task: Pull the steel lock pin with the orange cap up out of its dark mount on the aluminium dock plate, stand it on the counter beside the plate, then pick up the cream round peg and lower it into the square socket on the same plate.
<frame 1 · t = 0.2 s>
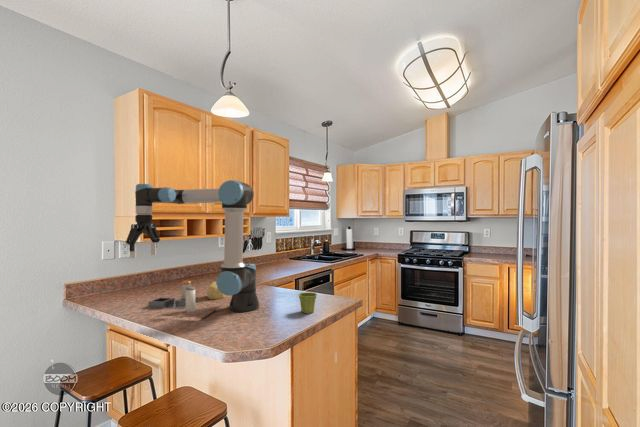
hand: (143, 256, 161), 27 cm above the countertop, fingers open, 13 cm apart
plant pot: (307, 312, 159), on the countertop
pin: (186, 303, 169), point 1 cm above the countertop, touching dock
dock: (173, 307, 167), on the countertop
sculpture: (217, 300, 183), on the countertop
cream round peg: (190, 314, 156), on the countertop
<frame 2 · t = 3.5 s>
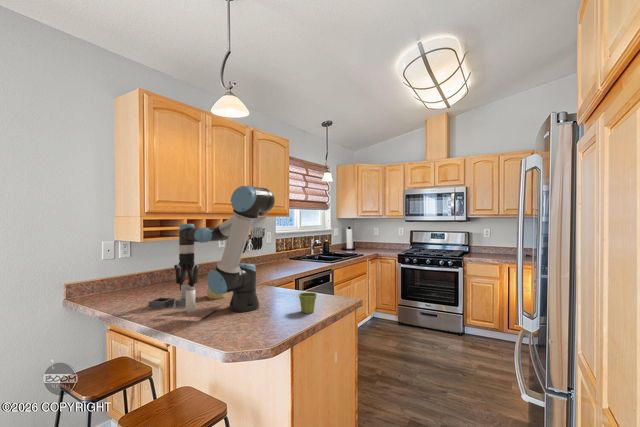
hand: (186, 296, 169), 5 cm above the countertop, fingers closed on pin, 3 cm apart
pin: (186, 303, 169), point 1 cm above the countertop, touching dock, gripper
everything else where it was.
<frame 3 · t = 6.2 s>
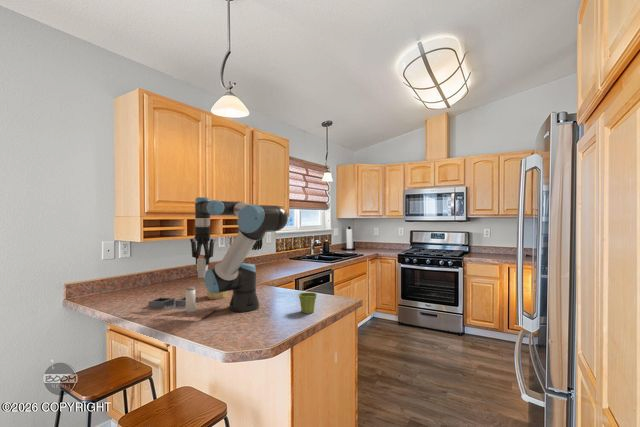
hand: (202, 270, 169), 19 cm above the countertop, fingers closed on pin, 3 cm apart
pin: (202, 277, 169), point 15 cm above the countertop, touching gripper
everything else where it was.
when the fingers open (5 cm above the countertop, at t = 8.8 s): pin drops 1 cm, on the countertop.
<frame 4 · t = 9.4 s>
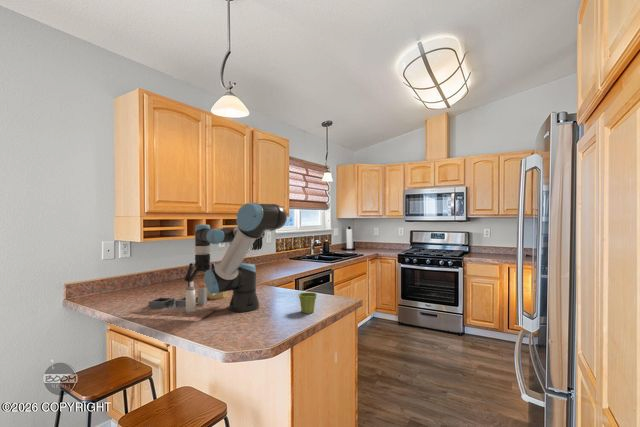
hand: (202, 294, 169), 6 cm above the countertop, fingers open, 12 cm apart
pin: (202, 306, 169), on the countertop
everything else where it was.
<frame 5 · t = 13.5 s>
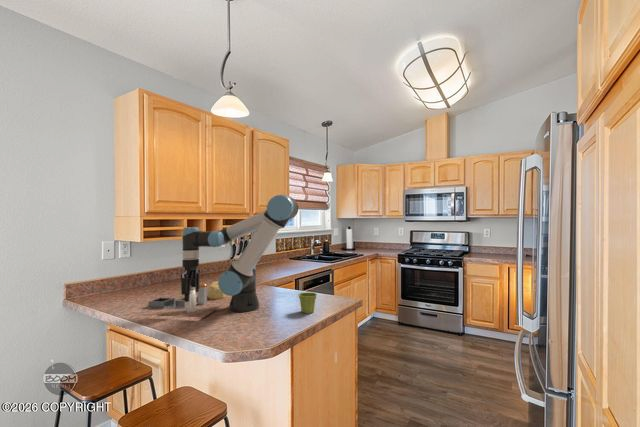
hand: (190, 306, 156), 4 cm above the countertop, fingers closed on cream round peg, 4 cm apart
cream round peg: (190, 313, 156), on the countertop, touching gripper
everything else where it was.
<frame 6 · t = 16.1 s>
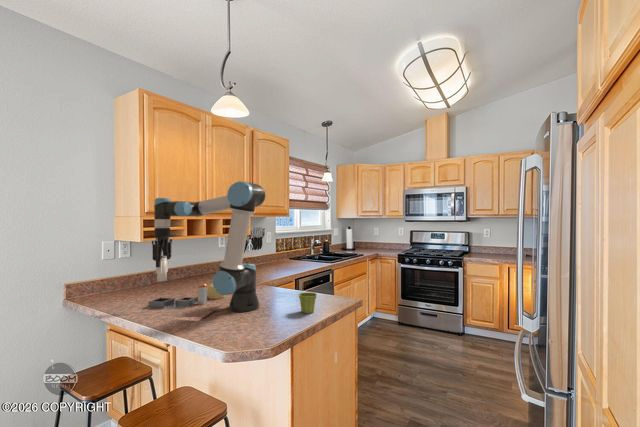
hand: (162, 272, 165), 19 cm above the countertop, fingers closed on cream round peg, 4 cm apart
cream round peg: (161, 280, 165), point 14 cm above the countertop, touching gripper
everything else where it was.
when the fingers open (6 cm above the countertop, at t = 19.2 s): cream round peg stays where it is, resting on dock.
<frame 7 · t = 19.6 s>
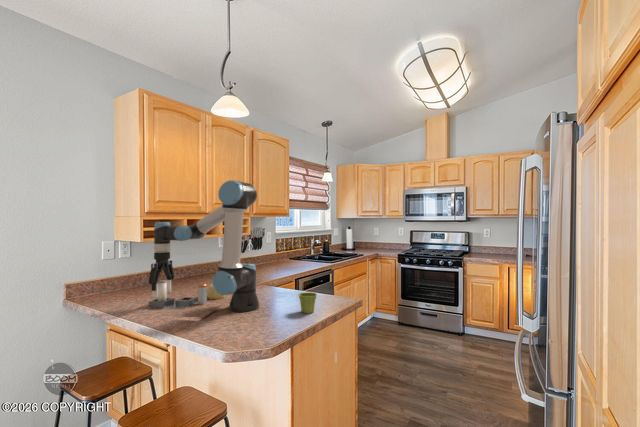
hand: (161, 294, 165), 7 cm above the countertop, fingers open, 10 cm apart
cream round peg: (161, 305, 165), point 2 cm above the countertop, touching dock
everything else where it was.
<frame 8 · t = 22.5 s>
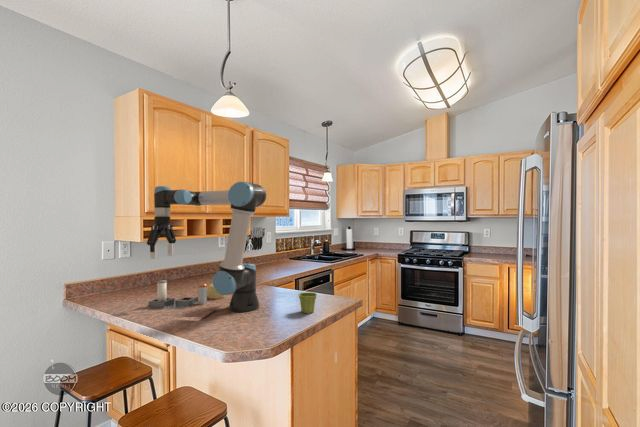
hand: (162, 257, 166), 27 cm above the countertop, fingers open, 13 cm apart
nothing on the countertop moved.
at the end: cream round peg 0.0 cm from the target spot on the dock, point 1.5 cm above the dock's base; cream round peg tilted 0°; pin inside the target area (0.9 cm from its centre), on the countertop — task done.
